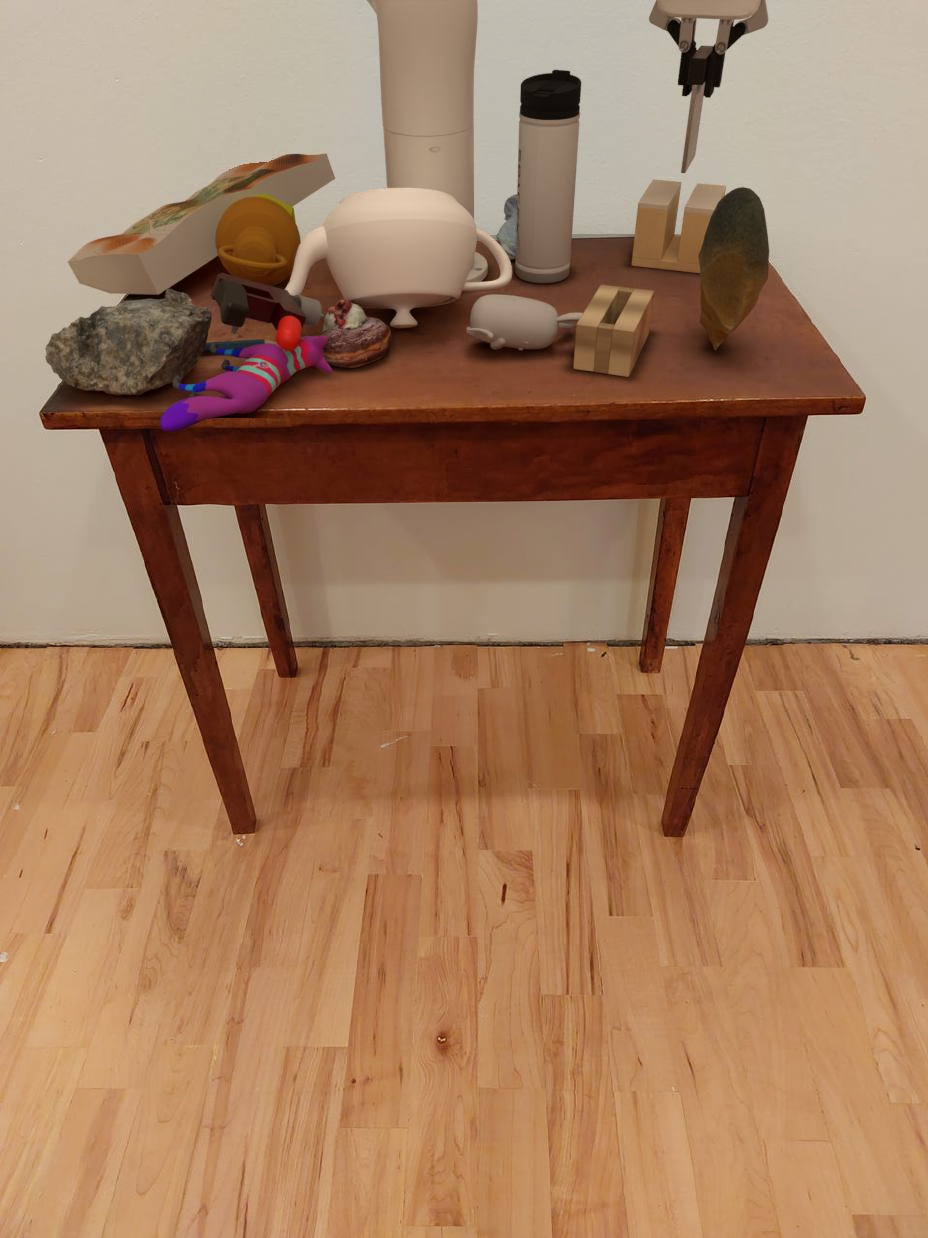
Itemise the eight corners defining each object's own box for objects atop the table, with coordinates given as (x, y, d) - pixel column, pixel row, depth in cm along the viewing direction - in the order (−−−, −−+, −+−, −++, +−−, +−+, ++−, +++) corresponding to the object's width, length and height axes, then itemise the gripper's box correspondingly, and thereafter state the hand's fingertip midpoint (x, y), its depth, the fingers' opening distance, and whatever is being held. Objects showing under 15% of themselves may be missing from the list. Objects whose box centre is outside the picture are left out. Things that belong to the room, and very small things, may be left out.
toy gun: (322, 295, 89) (304, 339, 92) (206, 262, 81) (189, 311, 84) (362, 348, 84) (341, 393, 86) (241, 318, 76) (222, 368, 78)
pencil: (130, 354, 91) (283, 345, 92) (128, 358, 90) (282, 349, 91) (127, 346, 90) (281, 336, 91) (126, 350, 89) (281, 340, 91)
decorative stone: (674, 330, 94) (697, 173, 84) (732, 328, 94) (762, 171, 84) (699, 374, 87) (728, 207, 77) (762, 371, 87) (799, 205, 77)
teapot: (534, 180, 86) (537, 317, 89) (488, 217, 101) (492, 333, 103) (263, 173, 80) (275, 320, 83) (256, 214, 95) (266, 337, 97)
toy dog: (248, 346, 91) (343, 359, 89) (150, 444, 79) (257, 463, 77) (241, 310, 89) (339, 323, 86) (138, 406, 76) (248, 425, 74)
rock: (28, 269, 78) (78, 281, 88) (30, 387, 81) (78, 387, 91) (192, 286, 78) (224, 297, 88) (188, 404, 81) (220, 402, 91)
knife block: (628, 377, 86) (634, 331, 83) (572, 369, 88) (576, 323, 85) (648, 334, 93) (654, 290, 90) (596, 327, 95) (600, 283, 92)
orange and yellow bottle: (226, 248, 114) (202, 303, 94) (231, 169, 109) (207, 208, 89) (299, 262, 116) (292, 318, 95) (308, 185, 111) (301, 227, 91)
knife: (690, 173, 100) (706, 58, 93) (675, 172, 101) (690, 57, 93) (700, 156, 105) (715, 45, 98) (686, 155, 106) (700, 45, 98)
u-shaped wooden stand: (631, 265, 108) (638, 201, 103) (645, 240, 114) (653, 178, 109) (705, 274, 105) (715, 209, 101) (716, 247, 112) (726, 185, 107)
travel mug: (578, 267, 107) (591, 71, 94) (558, 287, 103) (569, 84, 90) (528, 259, 109) (535, 67, 96) (506, 279, 105) (510, 79, 92)
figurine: (570, 210, 115) (561, 164, 110) (560, 281, 110) (550, 237, 105) (510, 218, 118) (497, 173, 112) (498, 287, 113) (484, 245, 107)
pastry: (322, 334, 94) (317, 285, 90) (396, 334, 94) (393, 285, 90) (310, 370, 88) (303, 319, 84) (388, 370, 88) (385, 319, 84)
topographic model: (158, 294, 98) (135, 248, 95) (85, 292, 106) (61, 250, 103) (335, 178, 113) (320, 135, 110) (258, 185, 121) (242, 145, 118)
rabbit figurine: (469, 329, 86) (593, 347, 87) (473, 278, 87) (597, 297, 88) (460, 357, 92) (577, 374, 93) (465, 309, 93) (580, 326, 94)
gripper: (636, -125, 86) (618, 97, 98) (812, -126, 81) (769, 106, 94) (651, -130, 91) (632, 82, 103) (817, -130, 87) (776, 90, 99)
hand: (698, 92), depth 98 cm, fingers closed on knife, 1 cm apart
